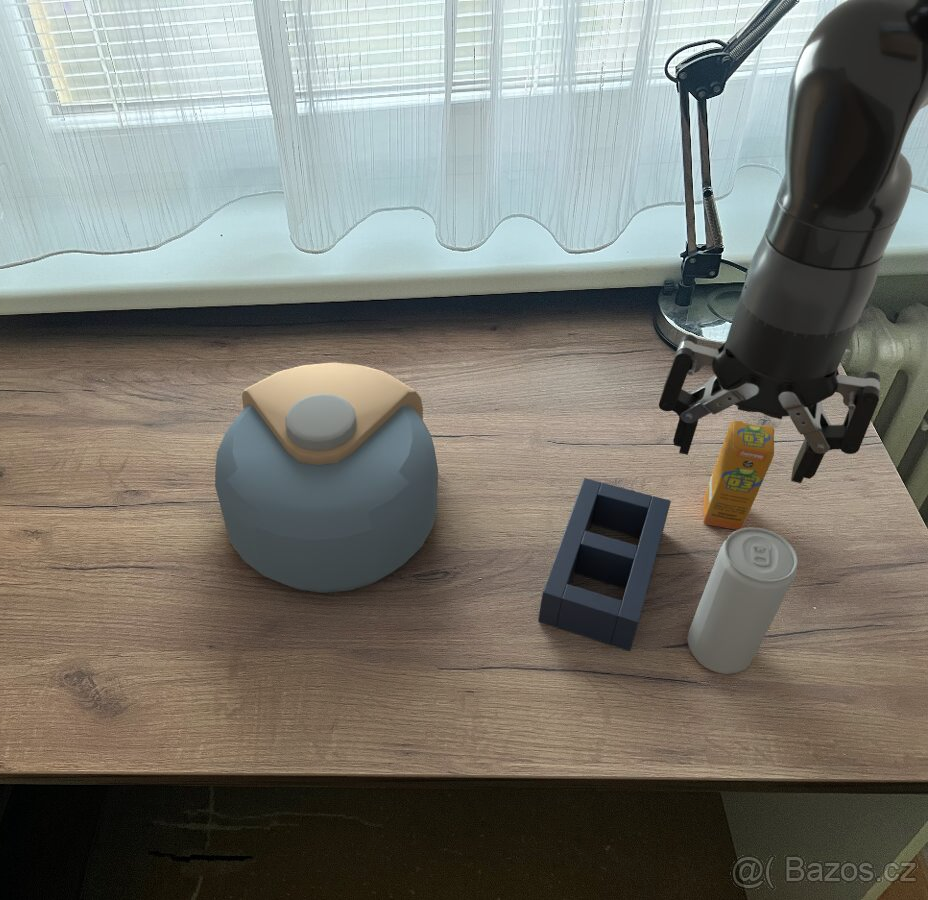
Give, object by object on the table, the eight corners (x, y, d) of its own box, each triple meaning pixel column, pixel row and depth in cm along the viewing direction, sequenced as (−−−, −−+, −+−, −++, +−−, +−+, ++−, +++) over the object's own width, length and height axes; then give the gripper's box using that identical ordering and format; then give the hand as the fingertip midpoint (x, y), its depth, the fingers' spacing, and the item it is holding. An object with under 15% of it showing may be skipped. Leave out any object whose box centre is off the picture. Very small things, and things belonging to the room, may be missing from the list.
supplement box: (701, 526, 75) (729, 445, 68) (702, 497, 78) (730, 415, 70) (742, 534, 74) (776, 452, 67) (743, 504, 77) (775, 422, 70)
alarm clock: (438, 435, 86) (439, 338, 77) (435, 607, 72) (436, 511, 63) (247, 433, 88) (227, 338, 80) (208, 598, 74) (180, 505, 66)
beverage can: (751, 629, 68) (797, 532, 59) (753, 684, 65) (803, 588, 56) (685, 617, 69) (721, 520, 61) (685, 670, 66) (722, 575, 57)
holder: (662, 530, 75) (671, 500, 73) (629, 651, 68) (638, 622, 65) (578, 507, 78) (584, 477, 75) (537, 621, 70) (542, 592, 67)
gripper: (683, 307, 60) (640, 469, 71) (920, 352, 55) (833, 519, 66) (701, 249, 64) (658, 410, 76) (921, 286, 59) (839, 452, 71)
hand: (739, 461), depth 71 cm, fingers open, 8 cm apart
